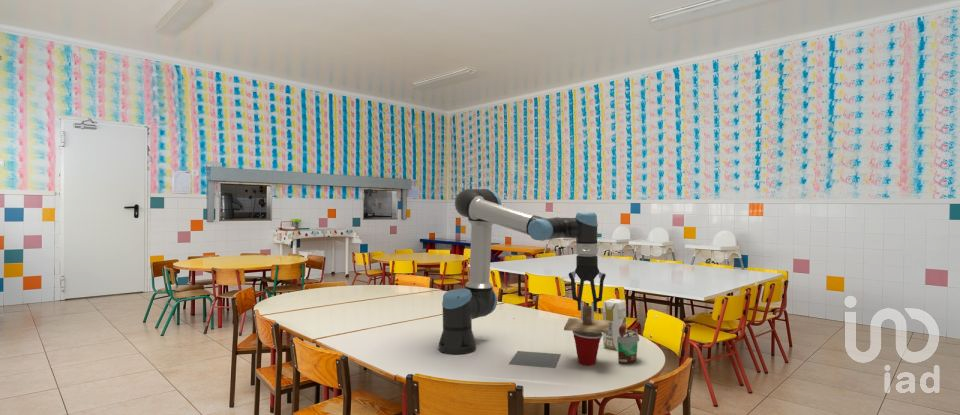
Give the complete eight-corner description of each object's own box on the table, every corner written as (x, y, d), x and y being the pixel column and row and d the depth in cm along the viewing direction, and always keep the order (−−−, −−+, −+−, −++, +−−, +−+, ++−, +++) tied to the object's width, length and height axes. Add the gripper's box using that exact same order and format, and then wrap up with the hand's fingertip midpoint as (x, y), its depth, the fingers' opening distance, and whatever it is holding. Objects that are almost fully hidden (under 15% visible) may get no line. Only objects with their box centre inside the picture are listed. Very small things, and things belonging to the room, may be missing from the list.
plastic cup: (598, 371, 175) (598, 336, 175) (568, 366, 180) (568, 333, 180) (606, 362, 185) (606, 329, 185) (577, 358, 190) (577, 326, 190)
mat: (508, 365, 182) (508, 364, 182) (517, 352, 198) (517, 350, 198) (555, 369, 177) (555, 368, 177) (561, 355, 194) (561, 354, 194)
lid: (564, 330, 177) (563, 310, 177) (568, 320, 192) (568, 302, 192) (608, 333, 173) (607, 312, 173) (609, 322, 188) (609, 304, 188)
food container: (634, 367, 179) (634, 339, 179) (617, 364, 183) (617, 337, 183) (643, 358, 190) (643, 331, 190) (627, 355, 193) (626, 329, 193)
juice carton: (600, 347, 204) (600, 300, 203) (611, 343, 210) (611, 297, 210) (618, 351, 198) (617, 303, 198) (628, 346, 205) (628, 300, 205)
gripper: (563, 255, 181) (563, 321, 181) (609, 256, 176) (610, 323, 177) (565, 253, 188) (566, 316, 188) (610, 254, 184) (610, 318, 184)
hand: (587, 319), depth 182 cm, fingers closed on lid, 3 cm apart
